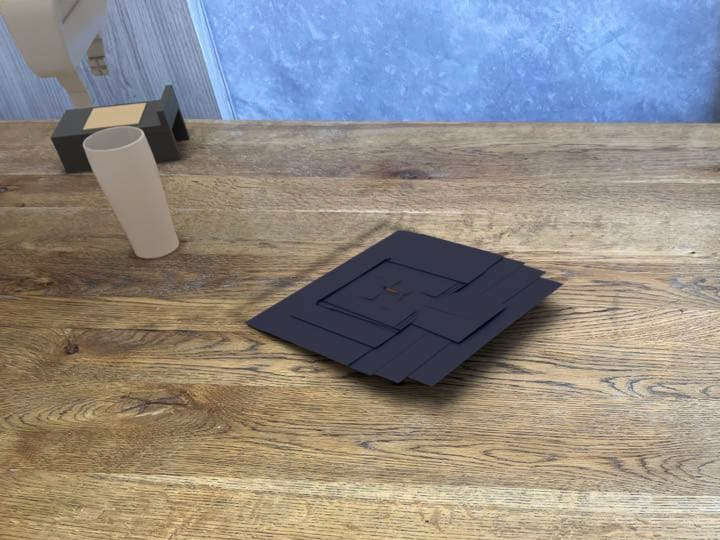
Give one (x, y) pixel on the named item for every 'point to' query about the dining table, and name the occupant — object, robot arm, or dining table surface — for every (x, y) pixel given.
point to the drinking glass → (133, 188)
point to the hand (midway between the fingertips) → (94, 89)
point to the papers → (408, 306)
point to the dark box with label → (151, 117)
